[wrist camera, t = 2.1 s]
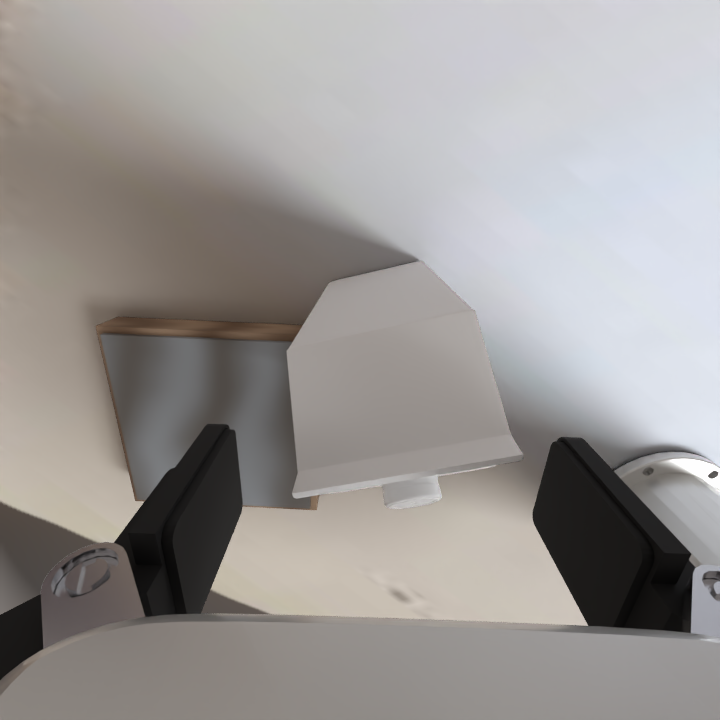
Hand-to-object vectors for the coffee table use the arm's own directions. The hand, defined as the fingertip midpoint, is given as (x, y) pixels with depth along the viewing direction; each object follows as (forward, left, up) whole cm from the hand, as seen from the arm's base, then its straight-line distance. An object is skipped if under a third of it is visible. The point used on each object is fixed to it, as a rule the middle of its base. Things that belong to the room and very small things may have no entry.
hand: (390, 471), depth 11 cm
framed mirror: (+13, +9, -19) cm, 25 cm away
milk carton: (0, 0, -19) cm, 19 cm away
